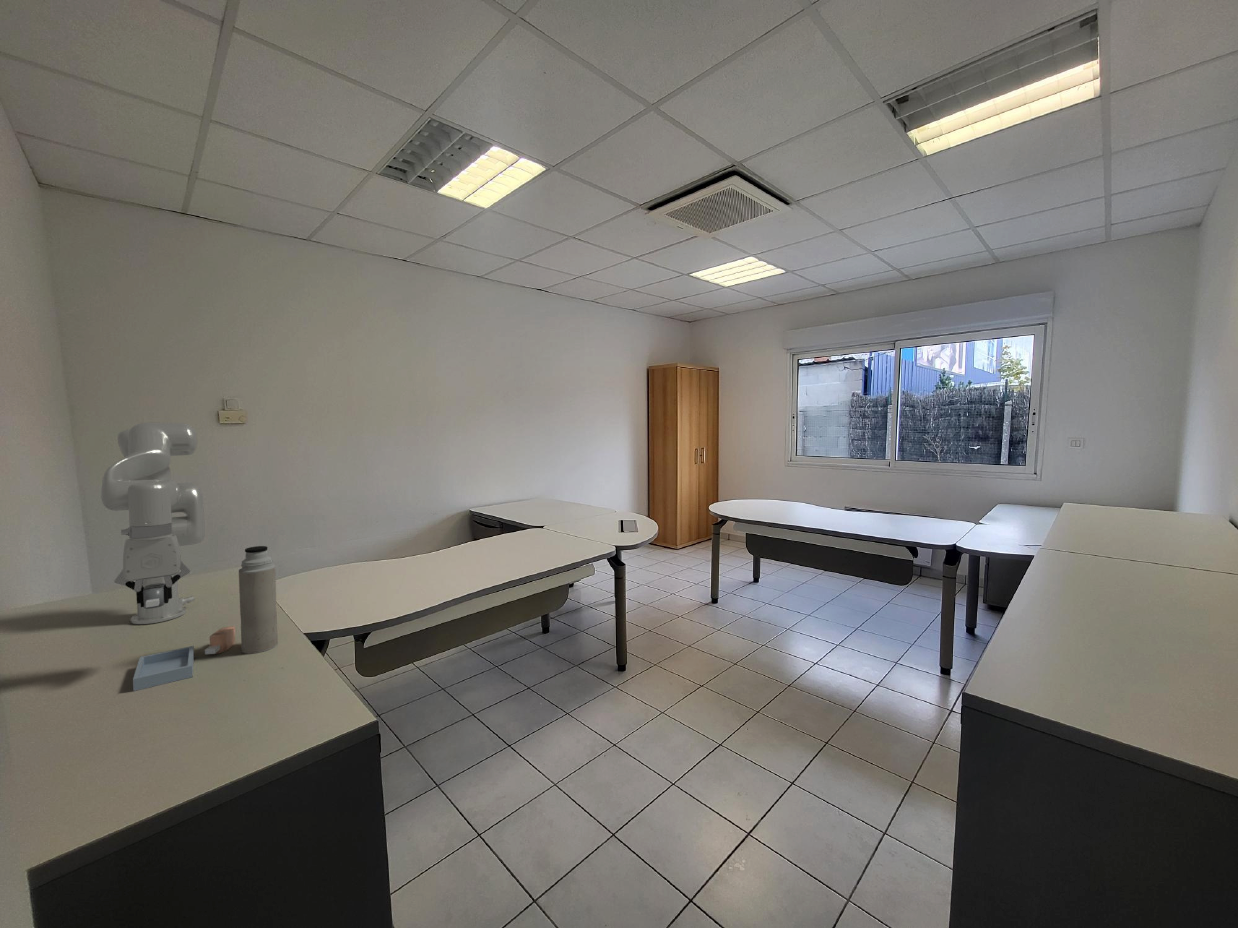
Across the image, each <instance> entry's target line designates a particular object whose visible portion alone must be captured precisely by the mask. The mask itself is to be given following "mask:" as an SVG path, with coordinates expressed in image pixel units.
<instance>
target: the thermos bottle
mask: <svg viewBox="0 0 1238 928" xmlns="http://www.w3.org/2000/svg"><path fill="white" fill-rule="evenodd" d="M244 552H245V558H244V559H242V561H241V565H240V566H241V567H240V569H238V588H239V589H238V590H239V615H240V636H241V637H240V639H241V640H240V641H241V653H244V654H250V655H251V654H258V653H263V652H267V651H270V650H271V649H274V648H276V647H277V645H279V639H278V638H279V637H278V634H279V633H278V612H277V579H276V578H277V577H276V574H277V573H276V565H275V564H274V563H273V558H272V557H271V556H269V553H268V546H266V545H258V546H257V545H256V546H255V545H254V546H250V547H247V548H245V549H244Z"/></svg>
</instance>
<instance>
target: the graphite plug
mask: <svg viewBox="0 0 1238 928" xmlns="http://www.w3.org/2000/svg"><path fill="white" fill-rule="evenodd" d="M164 586H165V583H156V584H150V585H147V586H145V588H144V589H143V600H144V609H151V608H157V607H161V606H163V605H164V604H165V603H164Z"/></svg>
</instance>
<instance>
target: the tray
mask: <svg viewBox="0 0 1238 928" xmlns="http://www.w3.org/2000/svg"><path fill="white" fill-rule="evenodd" d="M194 647H195V646H194V645H191V646H186V647H181V648H176V649H172V650H165V651H162V652H157V653H153V654H149V655H143V656H140V657H139V659H138V661H137V666H136V669H135V671H134V674H133V677H132V687H133V689H132V690H133V692H135V691H140V690H145V689H148V688H152V687H156V686H161V685H166V684H169V683H173V682H177V681H182V680H186V679H189V678H193V675H194V672H193V671H194V662H195V661H194V660H195V649H194Z"/></svg>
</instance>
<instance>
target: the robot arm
mask: <svg viewBox="0 0 1238 928" xmlns="http://www.w3.org/2000/svg"><path fill="white" fill-rule="evenodd" d="M117 443H118V447H119V449H120V451H121V453H122V456H123V458H121V459H118V460H117V461H116V462H114V463H113V464H111V465H110V466H109V467H108V468H106V470H105V472H104V473H103V476H102V481H101V493H100V495H101V496H100V497H101V498H100V499H101V502H102V504H103V506H104V507H105V508H106V509H108V510H110V511H115V512H116V511H119V512H120V511H128V521H129V526H128V527H127V528H125V529H120V530H121V531H120V534H121V536H128V537H129V538H127V539H125V542H124V547H123V554H122V556H123V557H122V558H123V559H122V570H121V571H120V572H119V574H118V575H117V576H116V578H115V579H114V581H113V583H114V584H118V585H121V586H125V587H127V588H129V589H130V590H133V591H134V592H135V593H136V594H135V595H136V610H137V612H136V614H135V615H132V617H130V623H131V624H132V625H149V624H156V623H157V624H158V623H163V622H166V621H170V620H174V619H176V618H179V617H181V616H183V615H184V614H185V613H186V611H187V610H186V608H185V607H184V606H185V605H186V604H189V603H191V602H195V599H196V598H195V596H193V595H190V596H187V597H185V598H184V597H182V596H181V597H180V596H179V580H180V579H181V578H184V577H185V576H187V575H189V574H190V573H191V570H190V568H189V567H187V565H186V564H185V563H184V562H183V561H182V558H181V551H180V547H185V546H192V545H198V544H200V543H202V542H203V540H204V539H205V536H206V524H205V523H206V522H205V507H204V506H205V505H204V497H203V491H202V489H201V487H200V486H199V485H198V484H196V483H193V482H176V481H174V480H172V478H171V468H170V464H171V461H172V459H171V456H173V457H175V456H181V457H182V456H190V455H193V454H194V453H195V451H196V448H197V445H198V435H197V432H196V429H195V428H194V427H193V426H192V425H191V424H188V423H184V422H141V423H137V424H135V425H133V426H132V427H131V428H129V429H124V430H122V431H120V432H119V433H118V435H117ZM174 513H175V514H176V513H183V514H185V516H184V515H183V516H172V514H174ZM156 583H165V586H164V603H165V604H164V605H163V606H161V607H157V608H151V609H144V600H143V589H144V588H145V586H147V585H150V584H156Z"/></svg>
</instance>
